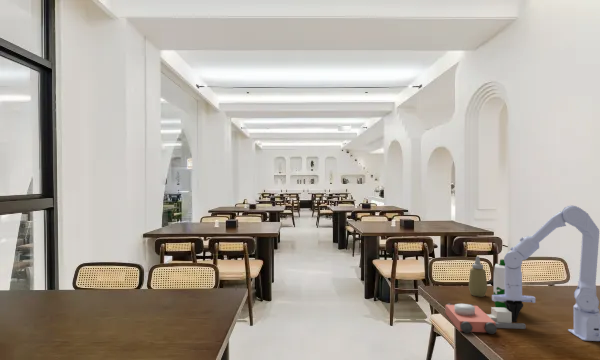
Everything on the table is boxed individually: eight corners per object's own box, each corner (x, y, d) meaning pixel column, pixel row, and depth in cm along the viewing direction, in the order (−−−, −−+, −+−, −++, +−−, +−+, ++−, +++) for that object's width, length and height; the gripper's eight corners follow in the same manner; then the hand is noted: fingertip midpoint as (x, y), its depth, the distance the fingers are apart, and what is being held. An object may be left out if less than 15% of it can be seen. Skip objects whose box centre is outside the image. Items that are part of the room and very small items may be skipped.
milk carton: (517, 308, 167) (517, 260, 168) (517, 314, 159) (517, 263, 160) (494, 305, 171) (493, 258, 172) (493, 311, 163) (493, 261, 164)
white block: (511, 326, 145) (511, 312, 145) (489, 325, 146) (489, 311, 146) (505, 321, 151) (505, 307, 151) (484, 320, 152) (483, 306, 152)
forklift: (534, 335, 136) (534, 318, 136) (460, 332, 139) (460, 315, 139) (507, 314, 159) (507, 299, 159) (444, 312, 162) (444, 297, 162)
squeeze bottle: (464, 294, 190) (464, 255, 190) (477, 292, 193) (476, 254, 193) (478, 298, 182) (478, 258, 183) (491, 296, 186) (491, 257, 186)
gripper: (529, 282, 151) (529, 318, 151) (488, 281, 153) (489, 317, 153) (538, 286, 144) (538, 324, 144) (495, 285, 146) (495, 323, 146)
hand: (513, 321), depth 148 cm, fingers closed
